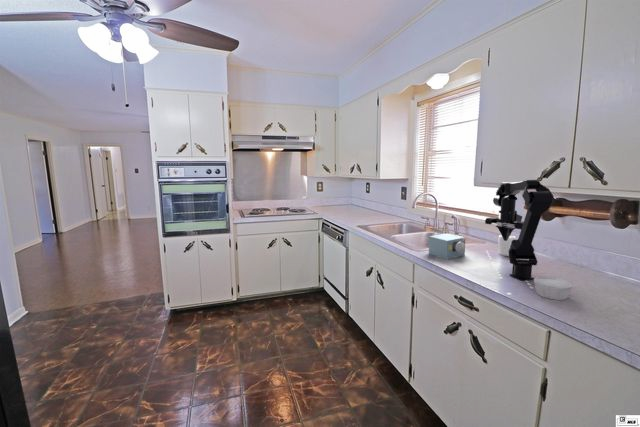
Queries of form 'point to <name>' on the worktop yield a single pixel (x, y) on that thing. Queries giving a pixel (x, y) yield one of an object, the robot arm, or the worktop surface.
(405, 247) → the worktop surface
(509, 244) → the white cup
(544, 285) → the ramekin
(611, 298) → the worktop surface
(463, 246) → the plug
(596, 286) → the worktop surface
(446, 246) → the socket block
